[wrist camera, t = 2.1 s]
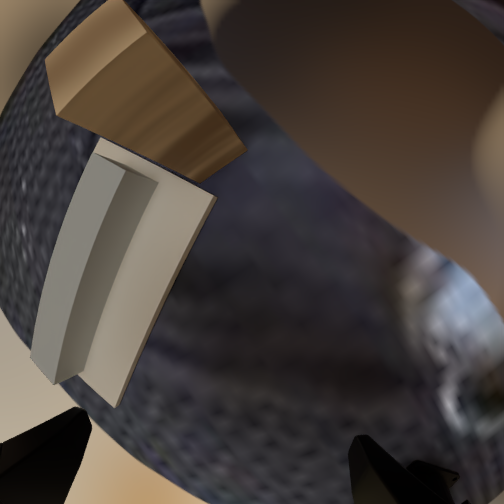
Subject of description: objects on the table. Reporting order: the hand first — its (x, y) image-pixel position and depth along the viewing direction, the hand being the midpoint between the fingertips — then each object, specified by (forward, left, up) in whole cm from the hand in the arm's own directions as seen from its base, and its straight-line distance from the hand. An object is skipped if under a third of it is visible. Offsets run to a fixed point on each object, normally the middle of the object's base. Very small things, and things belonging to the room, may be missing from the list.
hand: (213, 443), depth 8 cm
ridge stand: (+14, +4, -12) cm, 18 cm away
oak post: (+10, -9, -12) cm, 18 cm away
